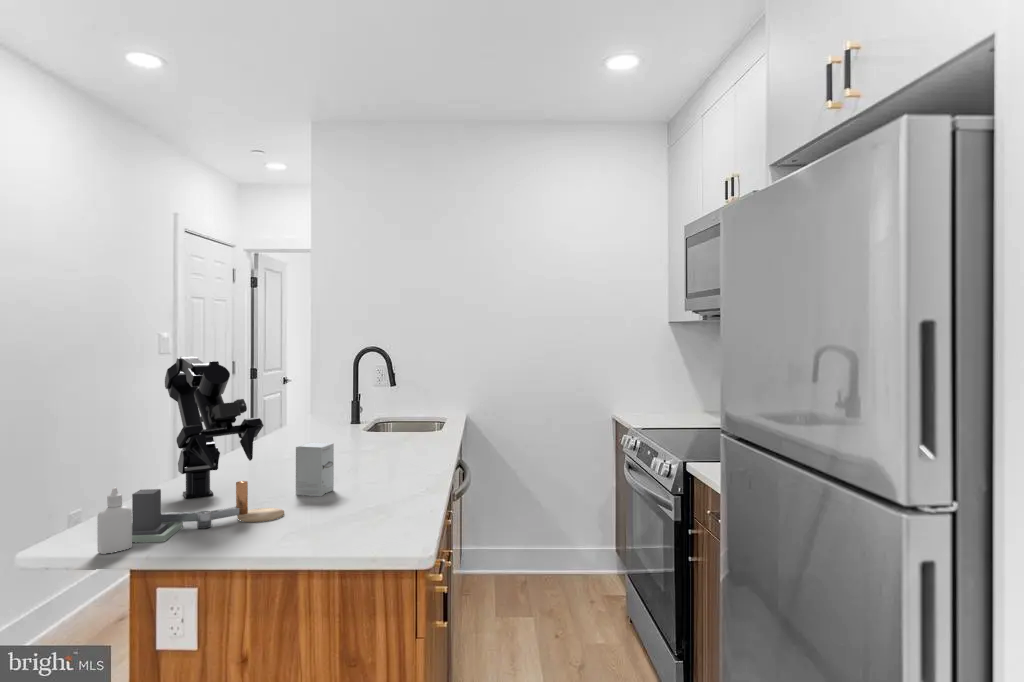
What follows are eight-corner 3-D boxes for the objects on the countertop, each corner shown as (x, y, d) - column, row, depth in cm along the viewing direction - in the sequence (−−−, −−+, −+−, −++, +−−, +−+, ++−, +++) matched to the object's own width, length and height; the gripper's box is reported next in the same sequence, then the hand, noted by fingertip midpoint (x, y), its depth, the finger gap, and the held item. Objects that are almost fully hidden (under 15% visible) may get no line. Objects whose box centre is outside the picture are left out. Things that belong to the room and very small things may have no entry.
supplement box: (321, 496, 171) (321, 447, 171) (294, 495, 173) (294, 446, 172) (334, 490, 178) (334, 442, 178) (309, 489, 180) (308, 441, 180)
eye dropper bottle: (100, 549, 130) (99, 486, 129) (133, 545, 132) (132, 484, 132) (95, 555, 126) (95, 491, 125) (130, 552, 128) (129, 489, 128)
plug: (137, 531, 141) (137, 488, 141) (167, 530, 142) (167, 487, 142) (125, 540, 135) (124, 495, 135) (156, 538, 136) (156, 494, 136)
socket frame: (130, 528, 143) (130, 523, 143) (182, 526, 145) (182, 521, 145) (108, 543, 133) (108, 537, 133) (164, 541, 134) (164, 535, 134)
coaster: (233, 514, 154) (233, 511, 154) (278, 508, 160) (278, 505, 160) (242, 524, 146) (242, 522, 146) (289, 518, 151) (289, 515, 151)
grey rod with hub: (249, 517, 151) (249, 480, 151) (236, 527, 143) (236, 488, 143) (151, 519, 150) (151, 481, 150) (134, 529, 142) (133, 490, 142)
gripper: (182, 391, 151) (203, 450, 145) (261, 385, 165) (282, 438, 159) (167, 419, 157) (186, 476, 151) (244, 410, 171) (264, 463, 165)
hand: (232, 462), depth 156 cm, fingers open, 9 cm apart
